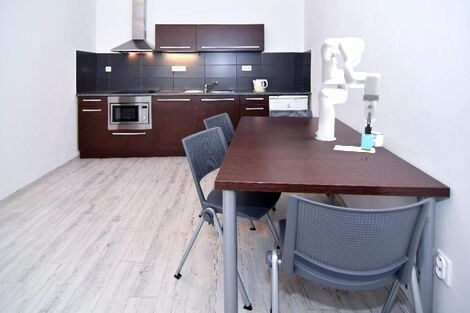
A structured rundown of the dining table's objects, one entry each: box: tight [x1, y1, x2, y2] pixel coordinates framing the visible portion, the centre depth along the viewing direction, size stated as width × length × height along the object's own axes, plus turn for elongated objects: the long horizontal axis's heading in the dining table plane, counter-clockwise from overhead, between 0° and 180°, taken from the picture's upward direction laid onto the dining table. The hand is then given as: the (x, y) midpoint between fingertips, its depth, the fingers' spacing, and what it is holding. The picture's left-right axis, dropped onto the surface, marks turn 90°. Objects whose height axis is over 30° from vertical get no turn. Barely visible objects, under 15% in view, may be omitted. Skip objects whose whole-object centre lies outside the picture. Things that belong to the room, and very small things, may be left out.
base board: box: [333, 145, 376, 153], centre depth 199 cm, size 20×12×2 cm, turn 71°
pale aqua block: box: [360, 134, 373, 149], centre depth 196 cm, size 5×5×7 cm
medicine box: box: [371, 131, 384, 148], centre depth 209 cm, size 8×4×9 cm, turn 21°
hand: (367, 134), depth 195 cm, fingers closed
